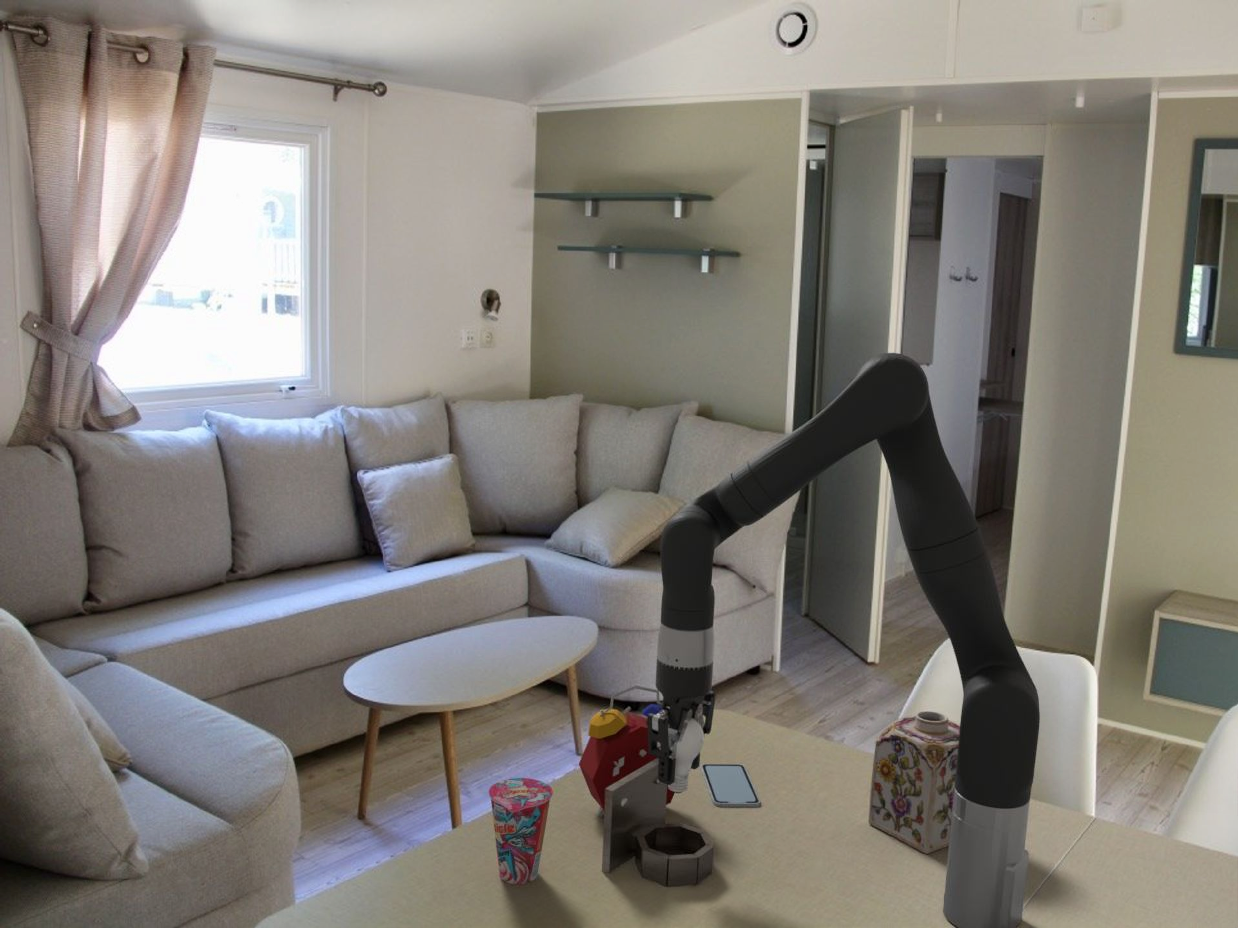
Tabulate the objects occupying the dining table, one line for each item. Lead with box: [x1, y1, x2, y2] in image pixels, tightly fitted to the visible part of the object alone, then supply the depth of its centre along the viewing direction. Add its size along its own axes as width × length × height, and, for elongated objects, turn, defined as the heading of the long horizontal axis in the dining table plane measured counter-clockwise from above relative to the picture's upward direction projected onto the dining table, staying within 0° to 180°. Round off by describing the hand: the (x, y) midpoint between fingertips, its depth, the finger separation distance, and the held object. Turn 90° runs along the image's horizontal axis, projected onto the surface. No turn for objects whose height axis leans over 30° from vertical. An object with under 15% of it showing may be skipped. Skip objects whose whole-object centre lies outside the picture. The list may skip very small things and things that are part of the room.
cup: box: [488, 777, 554, 885], centre depth 164 cm, size 9×8×12 cm
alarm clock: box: [578, 685, 676, 818], centre depth 182 cm, size 15×9×20 cm, turn 111°
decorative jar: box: [868, 710, 960, 855], centre depth 182 cm, size 12×12×18 cm
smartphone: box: [700, 763, 761, 808], centre depth 196 cm, size 7×1×15 cm
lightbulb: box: [657, 718, 705, 794], centre depth 166 cm, size 6×6×11 cm
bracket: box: [601, 758, 715, 888], centre depth 169 cm, size 12×14×12 cm
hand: (678, 774), depth 167 cm, fingers closed on lightbulb, 6 cm apart
